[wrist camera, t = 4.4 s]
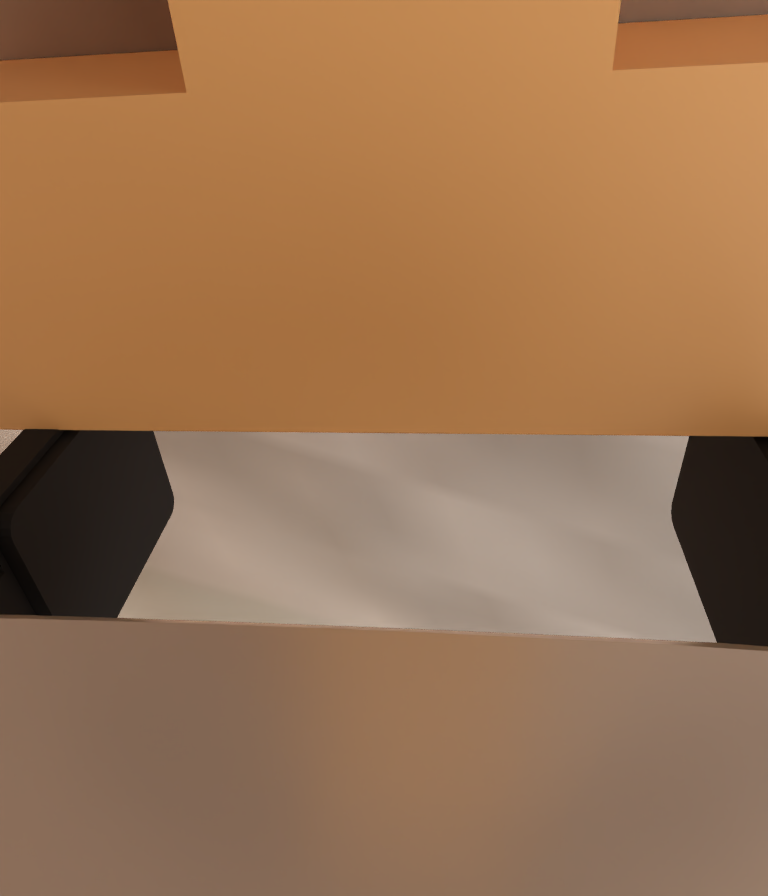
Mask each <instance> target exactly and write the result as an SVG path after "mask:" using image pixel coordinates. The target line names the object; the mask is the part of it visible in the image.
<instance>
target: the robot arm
mask: <svg viewBox="0 0 768 896" xmlns="http://www.w3.org/2000/svg"><path fill="white" fill-rule="evenodd" d="M173 507H174V496H173V492H172V489H171V486H170V482H169V479H168V476H167V473H166V470H165V467H164V464H163V461H162V457H161V454H160V451H159V448H158V445H157V442H156V439H155V435H154V432H153V431H122V430H59V429H24V430H23V431H22V432H21V433H20V434H19V435H18V436H17V438H16V439H15V440H14V441H13V442H12V443H11V444H10V445H9V446H8V447H7V448H6V449H5V450H4V451H3V452H2V453H1V455H0V896H768V437H767V436H689V440H688V443H687V447H686V451H685V455H684V459H683V463H682V467H681V471H680V474H679V478H678V482H677V486H676V490H675V494H674V498H673V502H672V510H671V514H672V522H673V526H674V529H675V531H676V534H677V537H678V539H679V542H680V545H681V547H682V550H683V553H684V555H685V558H686V561H687V563H688V566H689V569H690V571H691V574H692V577H693V579H694V582H695V585H696V588H697V590H698V593H699V596H700V598H701V601H702V604H703V606H704V609H705V612H706V614H707V617H708V620H709V622H710V625H711V628H712V630H713V633H714V636H715V638H716V641H717V643H710V642H687V641H668V640H649V639H629V638H606V637H584V636H562V635H540V634H518V633H496V632H474V631H451V630H427V629H402V628H377V627H353V626H327V625H302V624H276V623H250V622H221V621H192V620H162V619H133V618H117V617H118V615H119V613H120V611H121V609H122V607H123V605H124V603H125V602H126V600H127V598H128V596H129V594H130V592H131V590H132V588H133V586H134V584H135V583H136V581H137V579H138V577H139V575H140V573H141V571H142V569H143V567H144V566H145V564H146V562H147V560H148V558H149V556H150V554H151V552H152V550H153V549H154V547H155V545H156V543H157V541H158V539H159V537H160V535H161V533H162V531H163V530H164V528H165V526H166V524H167V522H168V520H169V518H170V516H171V514H172V512H173Z"/></svg>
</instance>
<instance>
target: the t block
mask: <svg viewBox="0 0 768 896" xmlns="http://www.w3.org/2000/svg"><path fill="white" fill-rule="evenodd" d="M168 4H169V9H170V14H171V19H172V24H173V29H174V33H175V38H176V43H177V48H178V50H169V51H152V52H135V53H119V54H102V55H85V56H69V57H52V58H36V59H19V60H2V61H0V429H14V430H24V429H59V430H122V431H229V432H337V433H444V434H552V435H659V436H767V437H768V14H767V15H751V16H734V17H717V18H701V19H684V20H667V21H651V22H634V23H618V21H619V13H620V5H621V0H168Z"/></svg>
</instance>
